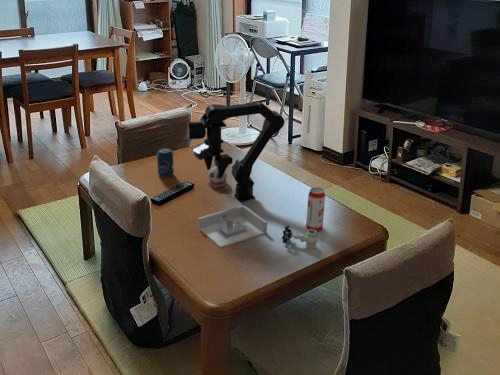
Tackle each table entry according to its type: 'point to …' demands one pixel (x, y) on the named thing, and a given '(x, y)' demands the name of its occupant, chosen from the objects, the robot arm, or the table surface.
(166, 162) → the soda can
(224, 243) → the tray
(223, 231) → the bracket
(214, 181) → the decorative ornament
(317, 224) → the beer can
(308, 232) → the valve
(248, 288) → the table surface
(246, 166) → the robot arm
